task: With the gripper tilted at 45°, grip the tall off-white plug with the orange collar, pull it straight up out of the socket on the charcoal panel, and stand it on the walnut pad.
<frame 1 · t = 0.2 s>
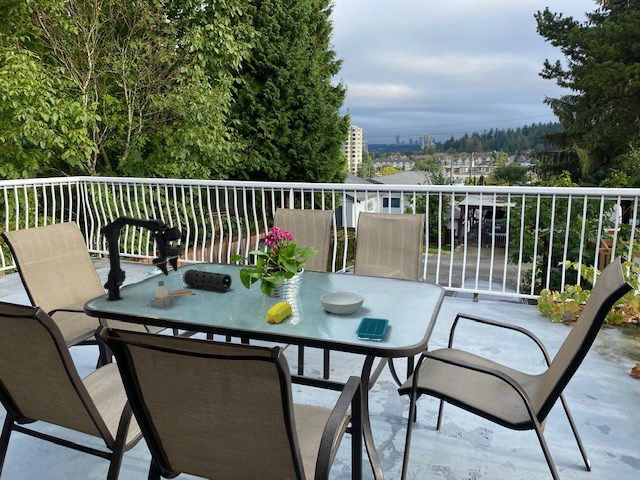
hand: (171, 273, 236), 15 cm above the table, tool tilted 15°, fingers open, 9 cm apart
plug: (162, 305, 231), point 1 cm above the table, touching socket panel
ice cube tray: (372, 333, 197), on the table
serving bowl: (342, 311, 224), on the table
pad: (180, 294, 252), on the table
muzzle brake: (207, 289, 263), on the table
socket panel: (162, 307, 231), on the table
yellow oblong piece: (279, 319, 214), on the table
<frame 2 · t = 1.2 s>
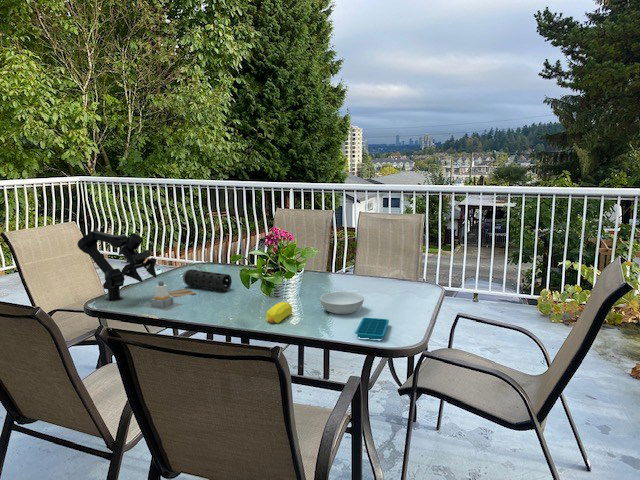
hand: (149, 279, 232), 13 cm above the table, tool tilted 45°, fingers open, 9 cm apart
nothing on the table moved.
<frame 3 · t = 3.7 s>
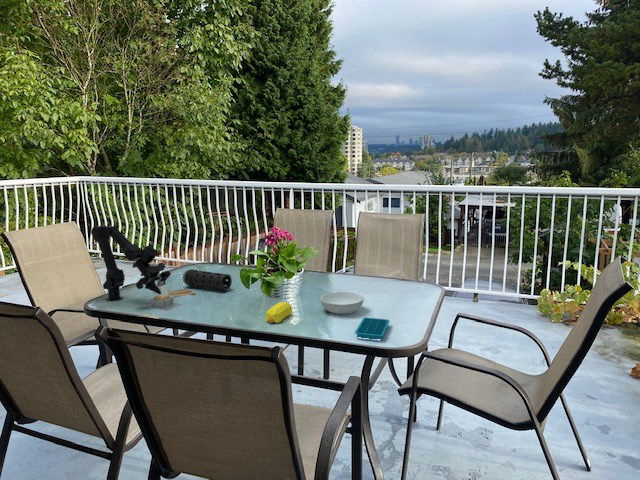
hand: (163, 292, 229), 8 cm above the table, tool tilted 45°, fingers closed on plug, 4 cm apart
plug: (162, 305, 231), point 1 cm above the table, touching gripper, socket panel
everything else where it was.
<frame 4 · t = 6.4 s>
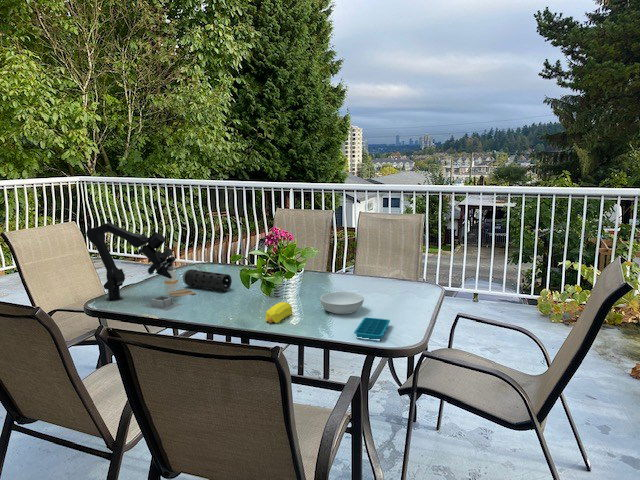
hand: (173, 277, 236), 13 cm above the table, tool tilted 45°, fingers closed on plug, 4 cm apart
plug: (171, 289, 237), point 7 cm above the table, touching gripper
everything else where it was.
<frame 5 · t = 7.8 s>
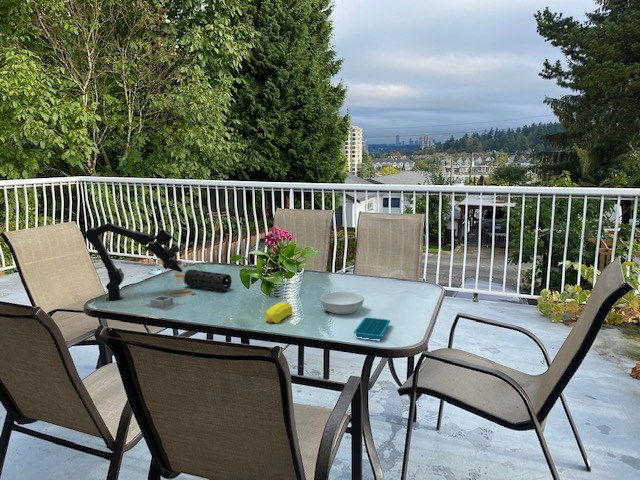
hand: (182, 270, 250), 13 cm above the table, tool tilted 45°, fingers closed on plug, 4 cm apart
plug: (180, 282, 251), point 7 cm above the table, touching gripper
everything else where it was.
when the fingers open (9 cm above the table, at t = 9.0 s): plug drops 1 cm, resting on pad.
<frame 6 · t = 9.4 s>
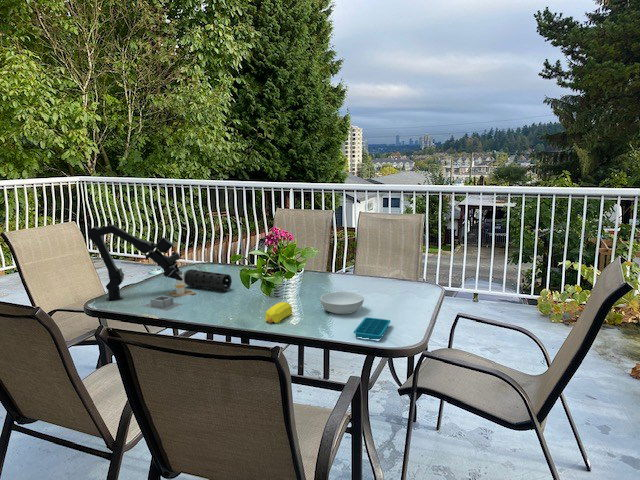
hand: (182, 278, 251), 9 cm above the table, tool tilted 45°, fingers open, 8 cm apart
plug: (180, 292, 252), point 1 cm above the table, touching pad
everything else where it was.
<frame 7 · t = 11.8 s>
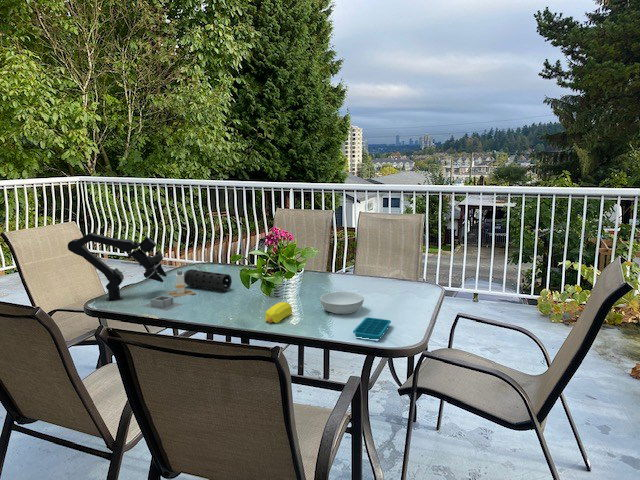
hand: (164, 278, 249), 9 cm above the table, tool tilted 40°, fingers open, 9 cm apart
nothing on the table moved.
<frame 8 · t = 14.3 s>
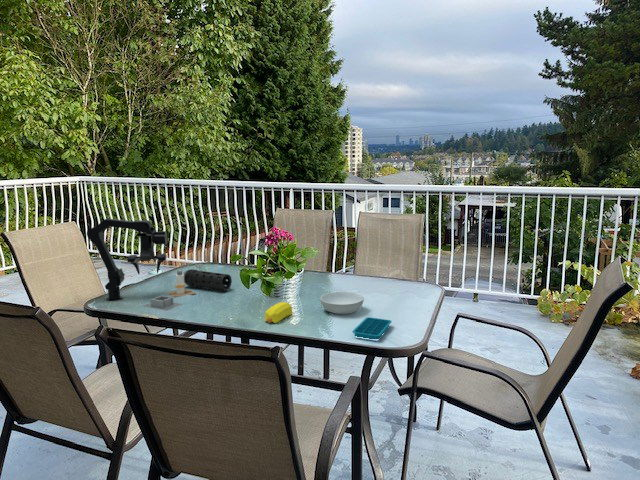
hand: (148, 273, 244), 13 cm above the table, tool pointing down, fingers open, 9 cm apart
nothing on the table moved.
at the end: plug inside the target area on the pad (0.0 cm from its centre), point 1.0 cm above the pad's base; plug tilted 0°; the gripper is holding nothing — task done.
